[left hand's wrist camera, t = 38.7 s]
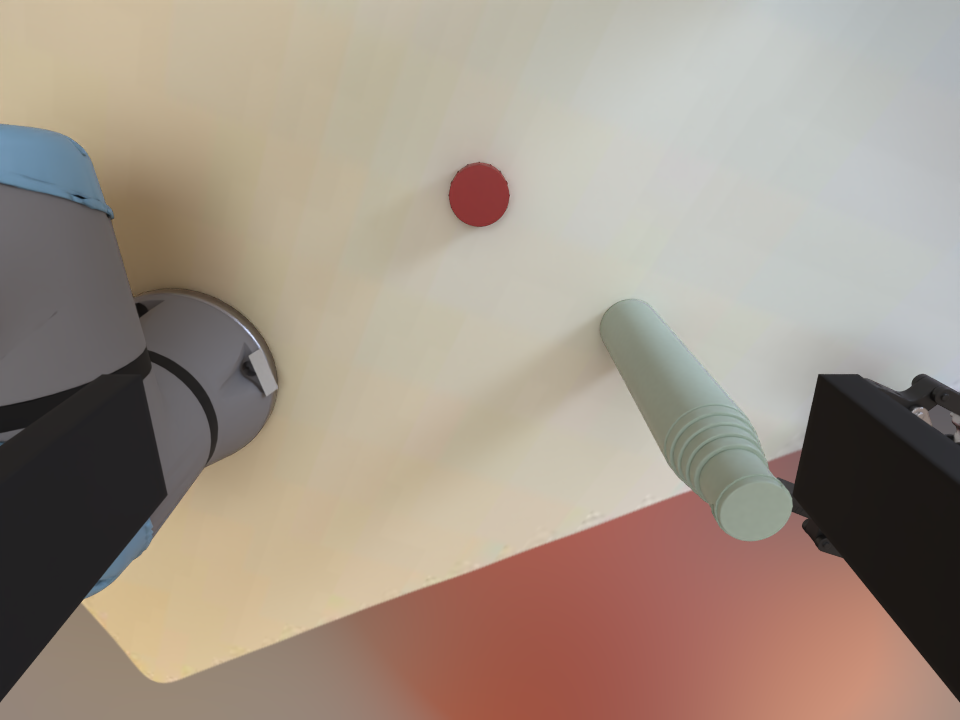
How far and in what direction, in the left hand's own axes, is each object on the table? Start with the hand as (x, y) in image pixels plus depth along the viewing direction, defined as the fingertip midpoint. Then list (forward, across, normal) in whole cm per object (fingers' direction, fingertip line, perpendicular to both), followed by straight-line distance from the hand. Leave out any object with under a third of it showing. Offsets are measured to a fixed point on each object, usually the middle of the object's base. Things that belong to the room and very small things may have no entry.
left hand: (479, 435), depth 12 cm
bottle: (+39, +12, -11) cm, 42 cm away
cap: (+37, 0, 0) cm, 37 cm away
